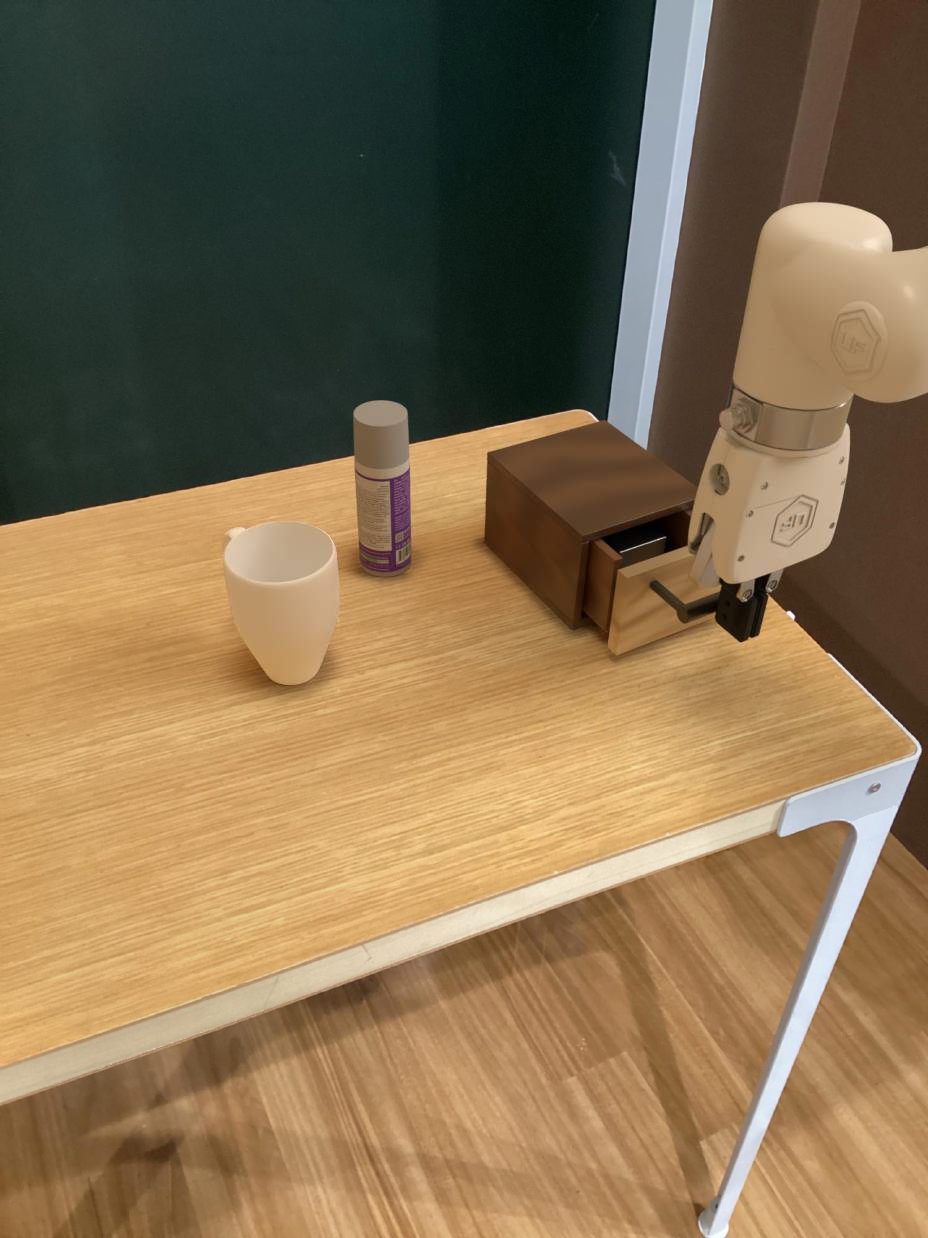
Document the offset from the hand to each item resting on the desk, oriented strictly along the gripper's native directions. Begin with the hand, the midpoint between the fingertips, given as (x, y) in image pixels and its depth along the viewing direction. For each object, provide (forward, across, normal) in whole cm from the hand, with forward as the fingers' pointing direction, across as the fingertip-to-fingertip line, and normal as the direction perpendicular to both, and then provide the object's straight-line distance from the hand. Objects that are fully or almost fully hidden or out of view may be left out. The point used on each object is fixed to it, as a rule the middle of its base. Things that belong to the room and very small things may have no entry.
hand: (736, 628), depth 80 cm
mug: (+6, -29, +20) cm, 36 cm away
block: (+2, 0, +16) cm, 16 cm away
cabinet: (+6, 0, +19) cm, 20 cm away
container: (+6, -16, +28) cm, 33 cm away
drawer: (+5, 0, +11) cm, 12 cm away
